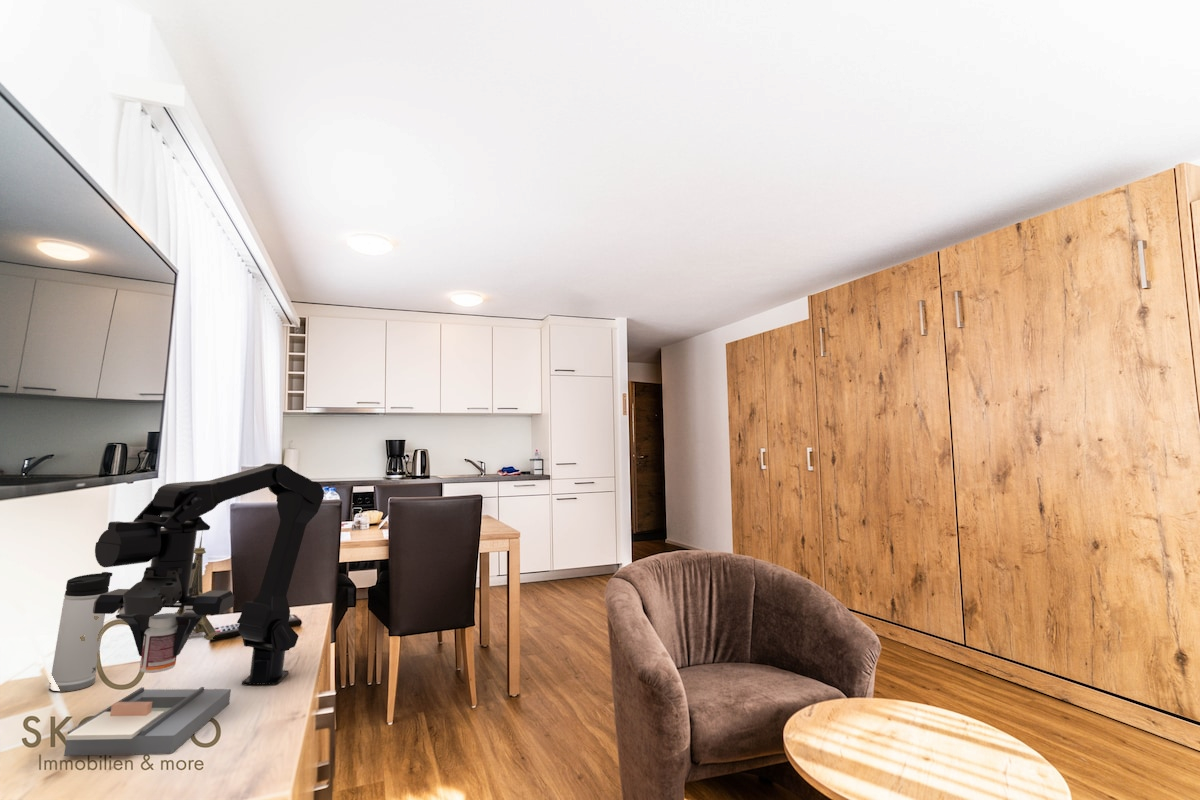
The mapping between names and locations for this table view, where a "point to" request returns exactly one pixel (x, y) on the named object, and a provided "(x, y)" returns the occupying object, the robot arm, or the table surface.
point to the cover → (118, 722)
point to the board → (159, 722)
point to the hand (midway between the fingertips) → (159, 655)
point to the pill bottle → (159, 643)
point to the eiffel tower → (197, 582)
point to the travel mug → (79, 632)
